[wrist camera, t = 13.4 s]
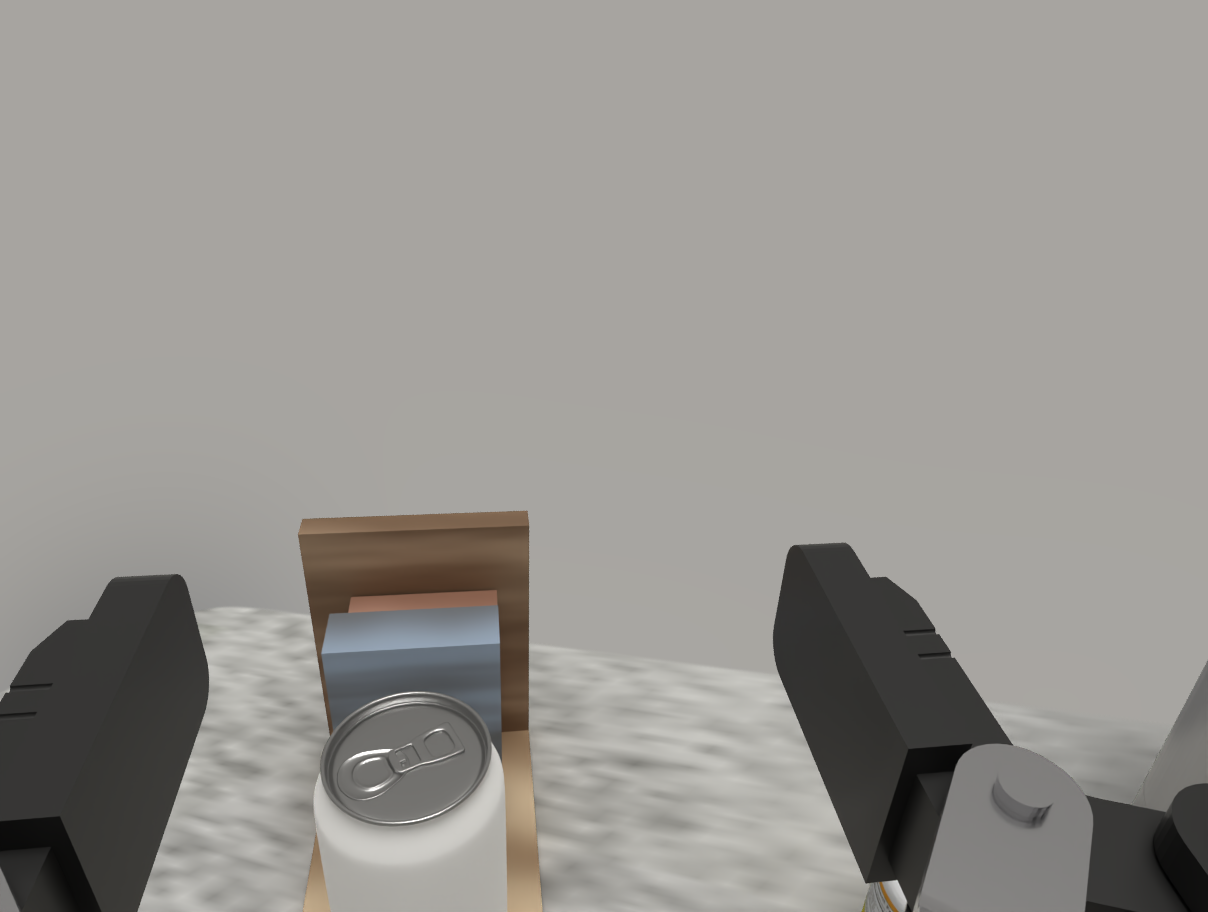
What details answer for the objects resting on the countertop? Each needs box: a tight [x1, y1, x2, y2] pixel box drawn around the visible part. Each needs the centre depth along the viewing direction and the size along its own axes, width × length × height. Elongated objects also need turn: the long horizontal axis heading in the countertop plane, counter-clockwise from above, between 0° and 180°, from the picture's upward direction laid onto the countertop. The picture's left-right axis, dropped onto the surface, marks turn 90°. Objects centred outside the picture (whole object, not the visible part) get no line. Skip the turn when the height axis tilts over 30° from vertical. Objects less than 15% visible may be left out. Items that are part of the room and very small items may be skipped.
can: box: [314, 691, 507, 912], centre depth 32 cm, size 6×6×12 cm
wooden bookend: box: [298, 511, 542, 912], centre depth 36 cm, size 17×10×14 cm, turn 8°
